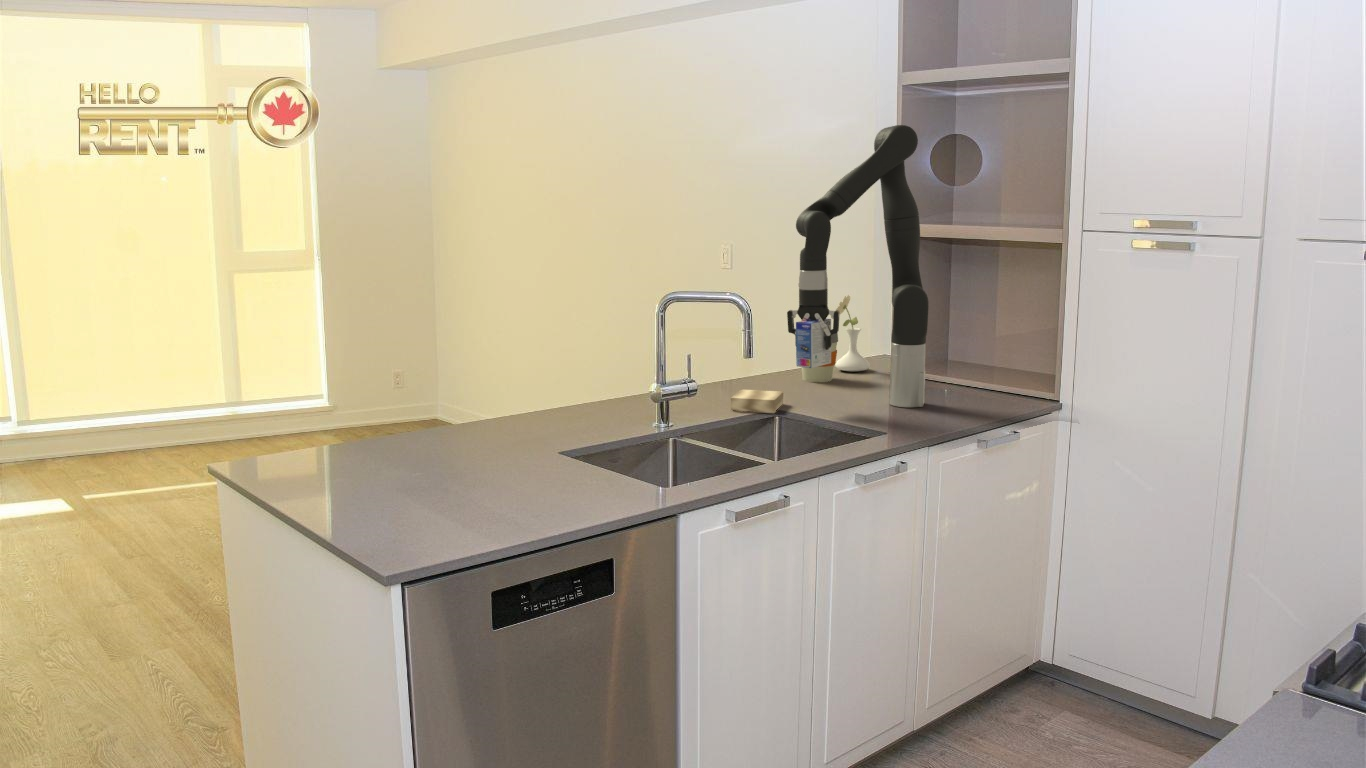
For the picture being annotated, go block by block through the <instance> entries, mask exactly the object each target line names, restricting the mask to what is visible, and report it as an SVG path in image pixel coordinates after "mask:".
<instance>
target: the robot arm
mask: <svg viewBox="0 0 1366 768" xmlns="http://www.w3.org/2000/svg"><path fill="white" fill-rule="evenodd" d="M918 140H919V139H918V135H917V133H916V131H915V129H913V128H912V127H911V126H909V125H905V124H897V125H892V126H887V127H884V128H882V129H880V130H879V132H878V133H877V134H876V136H875V138H874V143H873V147H874V148H873V150H874V152H873V153H872V154H871V156H869V157H868V158H867V159H866V160H865V161H863V162H861V164H859V165H858V166H856V167H855V168H853V169H852V170H851V171H849V172H848V173H846V174H845V175H844V176H843V177H841V178H840V179H839V180H838V181H837V182H835V184H834V185H833V186H832V187H831V188H830V189H829V190H828V191H827V192H826V193H824V195H823V196H822V197H820V198H819V199H817V200H816V201H814V202H813V203H811V204H810V205H809V206H807V207H806V208H804V210H803V211H801V213H800V214H799V215H798V217H797V220H796V222H795V228H796V231H797V233H798V234H799V235H800V236H802V237H804V238H805V243H804V248H802V249H801V250H800V254H799V276H798V309H797V310H796V309H794V310H793V309H790V310H787V312H786V317H787V318H786V319H787V332H788V333H789V334H793V335H794V336H795V339H794V340H795V341H794V343H795V346H796V327H795V322H794V321H795V318H797V316H798V317H799V318H800V321H808V318H810V320H811V321H812V320H817V321H819V322H820V326H821V327H822V329H823V330H824V332H825V333H826V336H825V349H826V350H829V348H830V347H831V345H832V335H833V334H836V333H838V332H839V329H840V316H841V314H840V311H839V310H836V309H835V310H836V311H835V310H830V309H829V307H828V304H829V303H828V301H829V300H828V298H829V296H828V295H829V294H828V291H829V289H828V287H829V286H828V285H829V284H828V282H829V281H828V272H827V271H828V270H827V263H828V262H827V261H828V260H827V259H828V257H827V253H828V249H829V244H830V239H831V234H832V225H831V221H832V220H833V219H835V218H836V217H840V216H842V215H843V214H845V213H846V211H847V210H849V209H850V208H851V207H852V206H853V205H854V204H855V203H856V202H857V201H858V200H859V199H860V198H861V197H863V195H864V194H865V193H866V192H867V191H868V190H869V189H871V188H872V187H873V186H874V185H875V184H876V183H877V182H878V181H879V180H880V190H881V201H882V209H883V222H884V223H883V224H884V234H885V240H886V246H887V251H888V255H889V260H890V264H891V265H890V267H891V280H892V281H891V283H892V284H891V287H892V288H891V304H892V308H893V311H892V331H891V337H890V338H891V343H890V348H891V349H890V372H889V373H890V374H889V375H890V376H889V405H891V406H893V407H898V408H899V407H900V408H923V407H924V404H925V395H926V394H925V391H926V389H925V387H926V346H927V345H926V342H927V334H928V326H929V325H928V324H929V296H928V295H927V293H926V291H925V290H924V287H923V283H922V278H921V272H920V263H919V262H920V261H919V260H920V258H919V257H920V247H921V246H920V245H921V225H920V215H919V209H918V206H917V202H916V199H915V197H914V195H913V193H912V190H911V189H910V187H909V183H908V182H907V177H906V169H905V168H906V167H905V160H907V159H908V158H910V157H912V156H913V155H914V153H915V152H916V149H917V147H918V144H919V141H918ZM829 315H830V319H831V320H832V321H833V323H832V328H831V329H830V328H829V326H828V324H827V323H826V324H825V323H824V320H825V319H828V317H829Z"/></svg>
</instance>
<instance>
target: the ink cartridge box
mask: <svg viewBox="0 0 1366 768" xmlns="http://www.w3.org/2000/svg"><path fill="white" fill-rule="evenodd" d="M824 323H825V324H826V323H827V324H828V326H829V328H830V329H831V330H832V318H826V319H825V320H824ZM795 329H796V345H795V350H796V352H795V356H796V357H795V358H796V359H795V360H796V361H795V363H796V367H797V368H798V367H800V368H802V367H805V368H814V367H818V366H822V365H826V364H829V363H831V347H830V348H829V350H826V349H825V336H826V333H825V332H824V330H823V329H822V327H821V326H820V322H819V321H817V320H812V321H811V320H810V318H808V321H802V320H800V321H796V322H795Z"/></svg>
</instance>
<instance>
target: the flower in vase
mask: <svg viewBox="0 0 1366 768" xmlns="http://www.w3.org/2000/svg"><path fill="white" fill-rule="evenodd" d="M850 301H851V296H850V295H849V294H848V295H845V296H844V297H843V300H842V301H840V302H839V303H838V306H837V308H835V310H834V311H836V310H839V311H840V315H841V314H842V313H844V312H845V310H846V312H847V314H848V318H849V319H846V320H845V321H844V322H843V324H842V326H843V327H846V328H845V331H846V332H847V333H848V339H849V348H848V351H847V352H846V353H845V354H844V355H843V356H841V357H840V358H839V359H838V360H836V363H835V365H834V367H835V368H836V369H837V370H840V371H844V372H863V371H866V370H869V369H870V368H871V364H870V362H869V361H868V360H867V359H866V358H865V357H863V355H861V354H860V352H859V351H858V349H857V347H858V346H857V344H858V336H859V334H860V332H861V331H862V328H859V327H854V326H856V325H857V324H859V320H858V318H857V317H858V316H855V317H853V318H852V319H851V314H850V311H849V310H848V306H849V303H850ZM849 324H851V325H850V326H851V327H847V326H848V325H849Z"/></svg>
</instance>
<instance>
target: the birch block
mask: <svg viewBox="0 0 1366 768" xmlns="http://www.w3.org/2000/svg"><path fill="white" fill-rule="evenodd" d="M782 404H783V405H784V391H782V390H781V391H779V390H777V391H776V390H761V389H760V390H759V389H744V388H743V389H740V390H739V391H737V392H736V393H735V394H734V395H732V396H731V397H730V411H731V410H736V411H735V412H743V411H755V412H754V413H765V414H776V412H777V411H778V410H779V409H780V408H781V407H782V406H783V405H782ZM781 405H782V406H781ZM780 406H781V407H780ZM779 407H780V408H779ZM778 408H779V409H778ZM777 409H778V410H777ZM776 410H777V411H776Z"/></svg>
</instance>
